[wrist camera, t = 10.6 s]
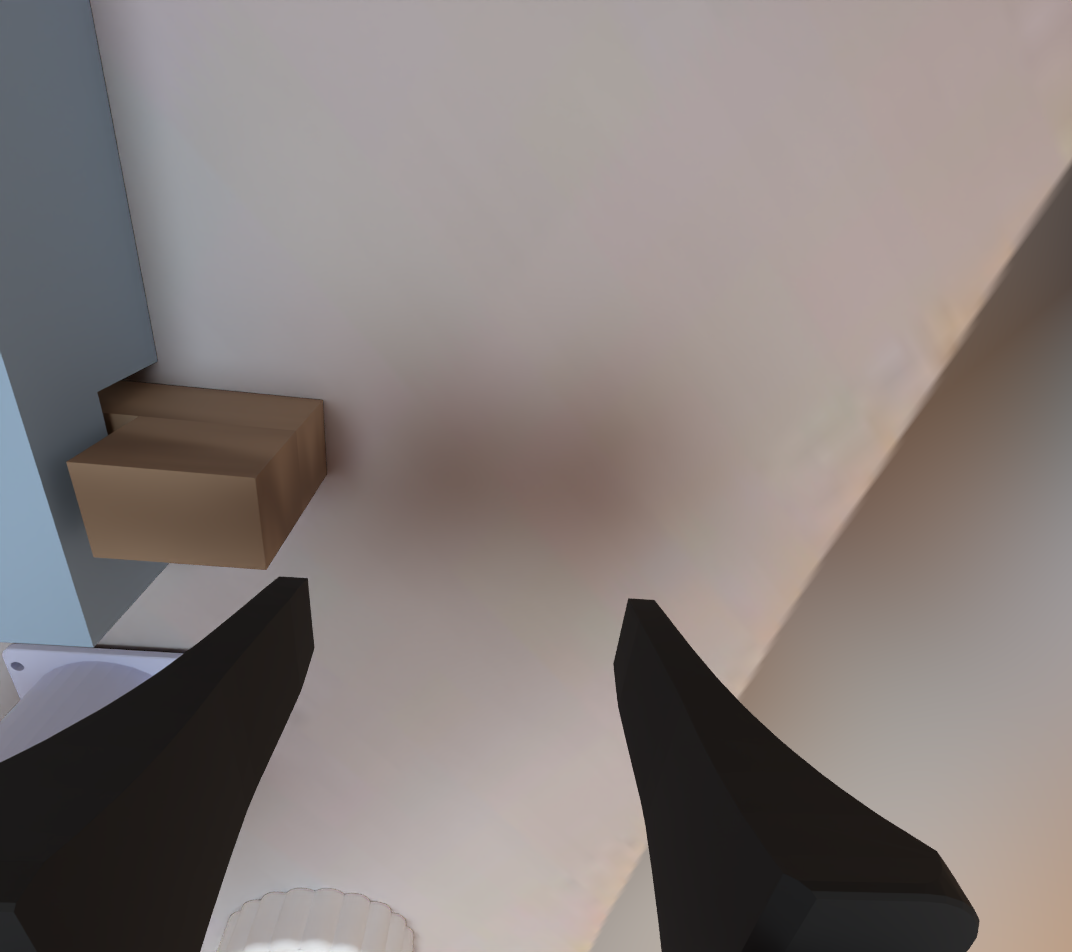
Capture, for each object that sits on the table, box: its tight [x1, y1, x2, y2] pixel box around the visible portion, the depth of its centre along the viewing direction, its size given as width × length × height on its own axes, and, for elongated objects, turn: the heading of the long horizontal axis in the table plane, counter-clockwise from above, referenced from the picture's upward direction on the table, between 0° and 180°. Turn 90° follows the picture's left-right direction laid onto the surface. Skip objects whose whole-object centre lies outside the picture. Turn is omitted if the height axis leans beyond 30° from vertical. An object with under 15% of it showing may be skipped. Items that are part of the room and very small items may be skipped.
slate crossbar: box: [0, 0, 169, 647], centre depth 16 cm, size 18×3×6 cm, turn 173°
